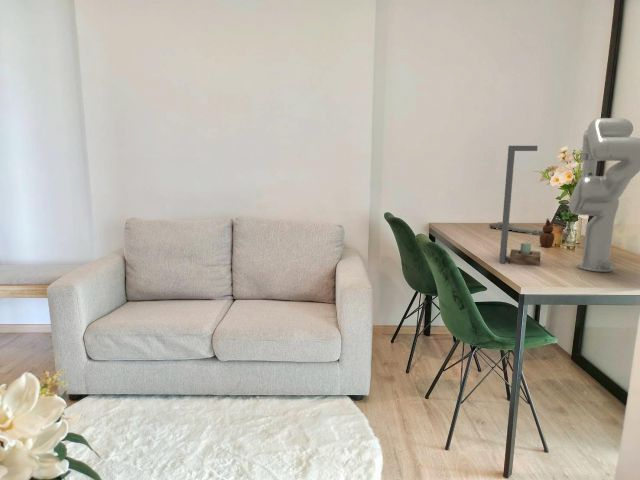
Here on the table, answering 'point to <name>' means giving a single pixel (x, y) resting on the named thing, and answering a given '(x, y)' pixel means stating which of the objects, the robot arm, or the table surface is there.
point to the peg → (525, 248)
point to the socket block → (525, 258)
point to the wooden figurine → (547, 235)
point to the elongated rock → (516, 228)
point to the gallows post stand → (509, 196)
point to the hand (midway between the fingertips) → (586, 196)
